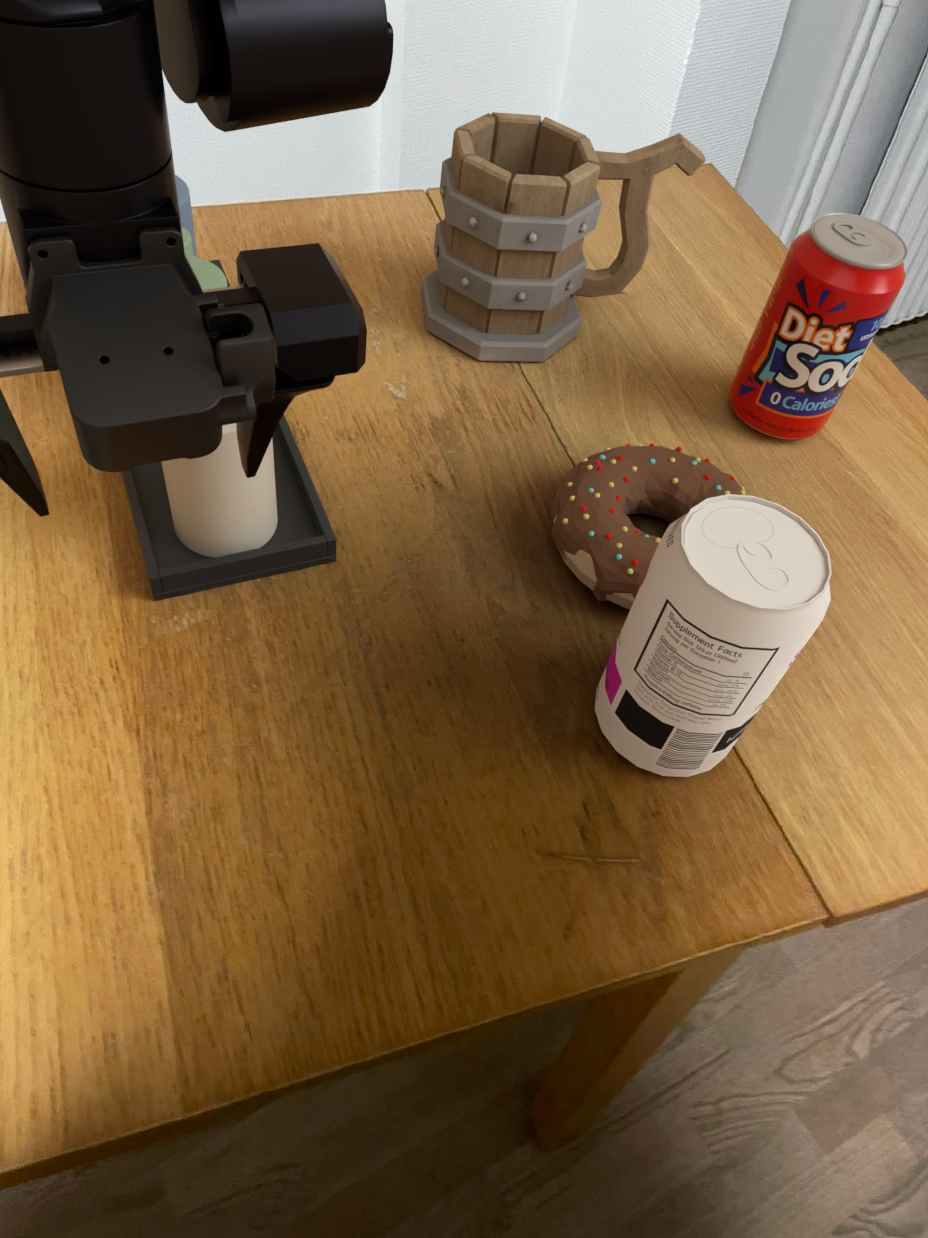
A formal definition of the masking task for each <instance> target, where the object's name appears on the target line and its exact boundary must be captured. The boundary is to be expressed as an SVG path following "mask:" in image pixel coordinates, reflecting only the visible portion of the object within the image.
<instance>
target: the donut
mask: <svg viewBox="0 0 928 1238" xmlns="http://www.w3.org/2000/svg"><path fill="white" fill-rule="evenodd" d="M682 450H683V449H682V446H676V447H673V446H670V447H669V448H668V447H665V446H663V445H655V443H650V444H649V445H643V444H641V443H638V444H637V445H632V444H631V443H626V444H625V445H620V446H617V447H613V448H610V447H609V446H608V447H605V448H604V451H600V452H597V453H594V454H591V455H589V456H588V457H583V458H582V460H581V461H580V462H579V463H578V464H576V465H575V466H573V467H572V468H571V469H570V470H569V471H568V472H567V474H566V476H565V478H564V480H563V482H562V485H561V486H560V488H559V490H558V492H556V497H555V499H554V500H553V502H552V504H551V506H550V508H549V511H548V517H547V520H548V522H549V524H550V526H551V527H552V528H551V530H550V532H551V536H552V539H553V541H554V544H555V545H556V547H557V549H558V550H559V553H560V555H561V557H562V560H563V562H564V564H565V565H566V566H567V567H568V568H569V569H570V571H571V572H572V573H573V574H574V576H576V578H577V579H578V580H579V582H581V583H582V584H584V585H585V586H586V587H588V588H589V589H590V591H591V592H592V594H593V595H594V597H595V598H596V599H597V601H598V602H603V601H604V602H605V601H606V602H607V601H609V602H612V603H613V604H616V605H618V606H620V607H622V608H624V609H628V610H630V609H631V607H632V605H633V602H634V600H635V598H636V595H637V593H638V591H639V588H640V586H641V584H642V581H643V579H644V577H645V574H646V572H647V570H648V567H649V565H650V562H651V560H652V558H653V555H654V553H655V551H656V548H657V546H658V544H659V542H660V540H661V538H662V537H659V536H656V535H652V534H649V533H646V532H644V531H642V530H641V529H639V528H638V527H636V526H634V524H633V522H632V521H631V519H630V517H629V515H635V514H636V515H638V514H645V515H649V516H654V517H658V518H660V519H662V520H664V521H666V522H668V523H670V524H671V523H673V522H674V521H676V520H677V519H679V518H680V517H682V516H684V515H685V514H687V513H688V512H689V511H690V509H691V508H693V507H695V506H696V505H698V504H699V503H701V502H702V501H704V500H706V499H707V498H712V497H717V496H722V495H727V494H735V495H747V494H746V491H745V490H746V489H745V486H742V485H740V484H739V482H737V480H736V478H735V476H733V475H732V474H729V473H726V472H723V471H722V470H721V469H720V468H718V466H716V465H714V464H712V463H711V460H710V459H709V458H705V459H702V458H700V457H695V456H692V455H689V454H687V453H683V452H682Z"/></svg>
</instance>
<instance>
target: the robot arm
mask: <svg viewBox="0 0 928 1238" xmlns="http://www.w3.org/2000/svg"><path fill="white" fill-rule="evenodd" d="M393 56H394V29H393V26H392V24H391V23H390V22H389V20H388V13H387V4H386V0H0V203H1V207H2V211H3V214H4V218H5V222H6V224H7V228H8V232H9V235H10V239H11V243H12V246H13V250H14V253H15V257H16V260H17V264H18V268H19V272H20V275H21V278H22V281H23V282H22V283H23V286H24V289H25V298H24V299H25V304H26V308H27V312H25V313H15V314H7V315H0V378H1V379H2V378H8V377H9V378H10V377H15V376H23V375H30V374H38V373H39V374H40V373H50V372H57V371H59V375H60V379H61V383H62V387H63V390H64V394H65V398H66V402H67V405H68V409H69V413H70V416H71V421H72V424H73V427H74V428H73V429H74V432H75V435H76V439H77V442H78V445H79V449H80V453H81V455H82V457H83V459H84V460H85V461H86V463H87V464H88V465H90V466H91V467H92V468H94V469H96V470H98V471H100V472H105V473H120V472H121V471H127V470H130V469H132V468H133V467H135V466H139V465H145V464H150V463H156V462H162V461H168V460H173V459H179V458H187V459H194V458H200V457H204V456H207V455H209V454H211V453H212V452H214V451H215V450H216V449H217V448H218V446H219V445H220V443H221V440H222V425H228V424H234V423H236V428H237V440H238V446H239V452H240V459H241V464H242V468H243V470H244V473H245V475H246V477H247V478H250V477H255V476H256V473H257V471H258V469H259V467H260V464H261V462H262V460H263V457H264V455H265V453H266V451H267V448H268V446H269V444H270V441H271V439H272V437H273V435H274V432H275V430H276V428H277V425H278V423H279V421H280V419H281V418H282V416H283V414H284V415H285V412H286V411H287V409H288V408H289V406H290V404H291V403H292V401H293V400H294V399H295V397H297V396H301V395H303V394H307V393H309V392H312V391H316V390H317V391H318V390H323V389H326V388H328V387H330V386H331V385H332V384H333V383H334V381H335V378H336V377H338V376H345V375H351V374H357V373H359V371H360V370H361V369H362V367H363V366H364V365H365V364H366V360H367V342H368V341H367V338H368V327H367V323H366V317H365V312H364V308H363V306H362V304H361V303H360V302H359V301H360V300H358V297H357V296H356V295H355V292H354V291H353V289H352V288H351V286H350V283H349V282H348V280H347V279H346V276H345V274H343V271H342V270H341V268H340V267H339V265H338V263H337V261H336V259H335V258H334V256H333V255H332V254H331V253H330V252H329V251H328V250H327V249H326V248H325V247H324V246H323V245H322V244H320V243H319V242H314V243H305V244H295V245H285V246H276V247H265V248H257V249H247V250H245V249H244V250H239V252H238V255H237V257H236V259H235V263H236V264H235V265H236V276H237V277H236V278H237V283H238V285H232V286H231V285H230V286H231V287H223V288H214V289H205V290H202V288H201V286H200V284H199V281H198V279H197V277H196V275H195V273H194V271H193V269H192V267H191V265H190V263H189V261H188V259H187V258H186V256H185V252H184V243H183V236H182V228H181V220H180V212H179V204H178V195H177V187H176V179H175V175H176V172H175V164H174V155H173V147H172V140H171V132H170V123H169V114H168V107H167V106H168V105H167V98H166V89H165V84H164V82H165V81H164V77H165V79H166V82H167V83H168V85H169V87H170V88H171V90H172V92H173V93H174V95H175V96H176V97H177V99H179V100H180V101H181V102H183V103H184V104H190V105H191V104H197V107H199V109H200V111H201V112H202V113H203V115H204V117H205V118H206V119H207V121H208V122H209V123H210V124H211V125H212V126H213V127H214V128H216V129H218V130H220V131H221V132H223V133H229V132H234V131H239V130H240V131H241V130H245V129H251V128H252V129H253V128H258V127H263V126H269V125H274V124H275V125H276V124H279V123H284V122H285V123H286V122H290V121H291V122H292V121H297V120H301V119H307V118H314V117H319V116H325V115H330V114H336V113H342V112H348V111H353V110H359V109H364V108H369V107H371V106H373V105H374V104H375V103H377V102H378V101H379V100H380V98H381V96H382V95H383V93H384V91H385V89H386V87H387V84H388V81H389V77H390V75H391V69H392V63H393ZM163 75H164V76H163ZM0 480H1V481H2V482H3V483H4V484H5V485H6V486H7V487H9V489H11V490H12V491H13V493H15V494H16V495H17V496H18V497H19V498H20V499H21V500H22V501H23V502H24V503H25V504H26V505H27V506H28V507H29V508H31V510H32V511H33V512H35V513H36V514H37V515H38V516H39V517H47V516H50V514H51V513H50V509H49V504H48V499H47V496H46V492H45V490H44V487H43V482H42V479H41V476H40V472H39V470H38V467H37V465H36V463H35V461H34V459H33V456H32V454H31V452H30V449H29V448H28V445H27V443H26V441H25V438H24V436H23V434H22V432H21V430H20V428H19V426H18V424H17V421H16V419H15V417H14V415H13V413H12V411H11V408H10V406H9V404H8V401H7V400H6V397H5V395H4V393H3V391H2V389H1V388H0Z"/></svg>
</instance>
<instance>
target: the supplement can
mask: <svg viewBox="0 0 928 1238" xmlns="http://www.w3.org/2000/svg"><path fill="white" fill-rule="evenodd" d="M660 538H661V540H660V542H659V544H658V546H657V548H656V551H655V553H654V555H653V558H652V560H651V562H650V565H649V567H648V570H647V572H646V574H645V577H644V579H643V581H642V584H641V586H640V588H639V591H638V593H637V595H636V598H635V600H634V602H633V605H632V607H631V609H629V612H628V614H627V616H626V619H625V621H624V623H623V626H622V628H621V630H620V632H619V635H618V638H617V640H616V642H615V644H614V647H613V649H612V652H611V654H610V657H609V658H608V661H607V663H606V665H605V668H604V670H603V673H602V675H601V678H600V680H599V682H598V684H597V686H596V690H595V701H594V712H595V715H596V718H597V721H598V724H599V729H600V730H601V733H602V734H603V735H604V737H605V738H606V739H607V741H608V742H609V744H610V745H611V746H612V748H614V750H615V751H616V752H617V753H618V754H619V755H621V756H622V757H623V758H625V759H626V760H628V761H629V762H630V763H632V764H633V765H635V766H636V767H637V768H640V769H642V770H645V771H648V772H650V773H653V774H656V775H659V776H661V777H675V778H677V777H678V778H691V777H692V776H696V775H699V774H700V775H701V774H703V773H705V772H709V771H712V769H713V768H714V767H716V766H717V765H718V764H719V763H720V762H722V761H723V760H724V759H725V758H726V757H727V756H728V754H729V753H730V752H731V750H732V749H733V747H735V745H736V743H737V741H738V740H739V739H740V737H741V736H742V734H744V732H745V730H746V729H747V728H748V726H749V725H750V723H751V722H752V720H754V718H755V717H756V716H757V713H758V712H759V711H760V709H761V708H762V707H763V705H764V704H765V703H766V701H767V699H768V698H769V697H770V695H771V694H772V693H773V691H774V690H775V688H776V687H777V685H778V684H779V682H780V681H781V680H782V678H783V677H784V675H786V672H787V671H788V670H789V669H790V667H791V666H792V664H793V663H794V662H795V660H796V659H797V657H798V656H799V654H800V653H801V651H802V650H803V649H804V647H805V646H806V644H807V643H808V642H809V641H810V639H811V637H812V636H814V633H815V632H816V630H817V629H818V628H819V627H820V625H821V623H822V622H823V621H824V618H825V616H826V613H827V611H828V608H829V605H830V603H831V600H832V596H831V586H830V580H831V577H832V575H833V572H832V563H831V555H830V552H829V551H828V549H827V547H826V545H825V544H824V542H823V540H822V538H821V536H820V534H819V533H818V532H817V531H815V530H814V528H812V526H810V525H809V523H807V522H806V521H805V520H804V519H803V518H802V517H801V516H800V515H798V514H796V513H794V512H792V511H791V510H789V509H788V508H785V507H784V506H783V505H781V504H779V503H776V502H773V501H770V500H768V499H765V498H761V497H758V496H754V495H748V494H746V495H735V494H727V495H722V496H717V497H712V498H707V499H706V500H704V501H702V502H701V503H699V504H698V505H696V506H695V507H693V508H691V509H690V511H689V512H688V513H687V514H685V515H684V516H682V517H680V518H679V519H677V520H676V521H674V522H673V523H670V524H669V525H668V527H667V528H666V530H665V532H664V534H663V535H662V537H660Z"/></svg>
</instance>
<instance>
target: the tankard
mask: <svg viewBox="0 0 928 1238" xmlns="http://www.w3.org/2000/svg"><path fill="white" fill-rule="evenodd" d="M705 162H706V157H705V155H704V153H703V152H702V150H700V149H699V148H698V146H696V145H695V144H693V143H692V142H691V141H690V140H689V139H687V138H686V137H685V136H684V135H683V134H682V133H680V132H678V133H676V134H674V135H670V136H669V137H666V138H663V139H662V140H659V141H657V142H654V143H652V144H649V145H646V146H643V147H640V148H636V149H633V150H630V151H627V152H615V151H602V150H595V148H594V146H593V143H592V141H591V139H590V138H589V137H587V135H586V134H584V133H582V132H579V131H577V130H575V129H573V128H571V127H569V126H566V125H565V124H562V123H560V122H558V121H556V120H554V119H551V118H549V117H547V116H544V118H543V119H542V116H541V115H539V114H524V113H523V114H522V113H511V112H509V113H508V112H497V111H496V112H492V113H489V112H487V113H486V114H483V115H481V116H479V117H477V118H475V119H473V120H471V121H469V122H466V123H464V124H462V125H460V126H458V127H457V128H455V130H454V131H453V136H452V146H451V157H448V158H446V159H444V160H443V161H442V162H441V172H440V182H439V195H440V198H441V202H442V206H443V212H444V218H443V220H440V221H439V222H437V223H435V231H434V232H435V233H434V241H433V242H434V243H433V255H434V257H435V263H436V267H437V269H435V270H434V271H432V272H430V273H428V274H427V275H426V276H424V277H422V278H421V285H420V295H421V302H422V308H423V315H424V320H425V325H426V327H425V328H426V331H427V332H429V333H430V334H432V335H433V336H435V337H437V338H439V339H440V340H442V341H444V342H446V343H447V344H449V345H451V346H453V347H454V348H456V349H458V350H459V351H461V352H463V353H464V354H466V355H468V356H470V357H472V358H473V359H475V360H477V361H479V362H518V363H519V362H521V363H522V362H523V363H543V362H544V361H546V360H547V359H549V358H550V357H551V356H552V355H554V354H555V353H556V352H558V351H559V350H560V349H562V348H563V347H564V346H565V345H567V344H568V343H569V342H571V341H572V340H573V339H574V338H576V337H577V336H578V335H580V332H581V328H582V323H583V319H582V316H581V313H580V310H579V307H578V304H577V301H576V298H575V297H584V298H597V297H607V296H614V295H620V294H621V293H622V292H624V290H625V289H626V287H627V286H628V285H629V284H630V283H631V282H632V281H633V280H634V279H635V277H636V276H637V275H638V274H639V273H640V272H641V271H642V269H643V268H644V265H645V262H646V258H647V256H648V253H649V250H650V247H651V233H650V222H649V221H650V219H649V205H650V201H651V195H652V188H653V184H654V177H655V175H657V174H659V173H661V172H664V171H666V170H667V169H669V168H671V167H674V166H676V167H677V168H678V169H679V170H681V171H682V172H683V173H684V174H685V175H686V176H687V177H691V176H693V175H694V174H695V173H696V172H697V170H699V169H700V168H701V166H703V165H704V164H705ZM599 180H601V181H602V180H603V181H605V180H606V181H607V180H608V181H609V180H611V181H613V180H615V181H622V184H621V190H620V195H619V201H618V202H619V203H618V211H619V212H618V214H619V222H620V230H621V239H622V241H621V243H620V247H619V250H618V254H617V257H616V258H615V259H614V260H613V261H612V263H611V264H610V265H609V266H608V267H606V268H605V267H604V268H601V269H596V270H595V269H589V268H587V265H588V262H587V259H586V257H585V253H584V251H583V244H584V240H585V238H586V237H585V236H587V235H589V234H591V233H592V232H593V231H595V230H596V229H597V224H598V220H599V217H600V216H599V215H600V212H601V208H602V204H603V201H602V199H601V196H600V194H599V192H598V189H597V186H598V182H599Z"/></svg>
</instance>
